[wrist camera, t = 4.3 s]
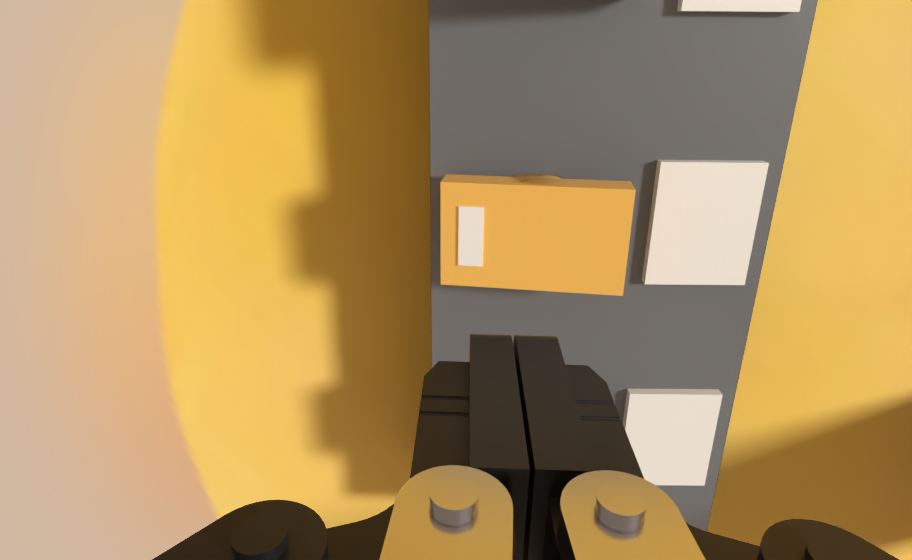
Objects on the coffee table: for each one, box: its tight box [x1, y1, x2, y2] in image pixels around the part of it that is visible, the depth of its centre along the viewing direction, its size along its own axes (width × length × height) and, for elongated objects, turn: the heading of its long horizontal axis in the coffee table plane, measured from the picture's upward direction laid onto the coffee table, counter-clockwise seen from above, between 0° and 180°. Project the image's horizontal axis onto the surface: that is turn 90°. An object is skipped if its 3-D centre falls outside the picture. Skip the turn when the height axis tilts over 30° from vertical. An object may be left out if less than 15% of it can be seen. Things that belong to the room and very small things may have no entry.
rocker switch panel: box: [429, 0, 818, 531], centre depth 23 cm, size 12×28×4 cm, turn 0°
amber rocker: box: [440, 174, 636, 296], centre depth 20 cm, size 6×4×2 cm, turn 89°
